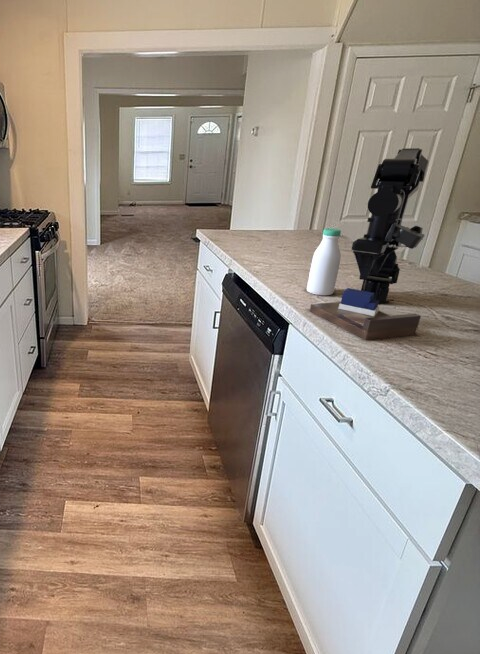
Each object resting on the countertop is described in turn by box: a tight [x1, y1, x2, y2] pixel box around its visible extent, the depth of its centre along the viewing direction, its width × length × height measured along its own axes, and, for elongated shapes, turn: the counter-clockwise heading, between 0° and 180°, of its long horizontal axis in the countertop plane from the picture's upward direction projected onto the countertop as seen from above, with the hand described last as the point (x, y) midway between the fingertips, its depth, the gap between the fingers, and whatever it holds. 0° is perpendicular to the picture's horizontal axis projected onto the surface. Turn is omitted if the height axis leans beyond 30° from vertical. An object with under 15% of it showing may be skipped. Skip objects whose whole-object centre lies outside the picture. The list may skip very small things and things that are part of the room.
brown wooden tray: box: [309, 301, 422, 341], centre depth 105 cm, size 20×14×5 cm
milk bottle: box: [306, 228, 342, 296], centre depth 125 cm, size 8×8×20 cm
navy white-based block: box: [339, 287, 380, 316], centre depth 107 cm, size 8×4×5 cm, turn 45°
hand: (369, 276), depth 103 cm, fingers open, 9 cm apart
